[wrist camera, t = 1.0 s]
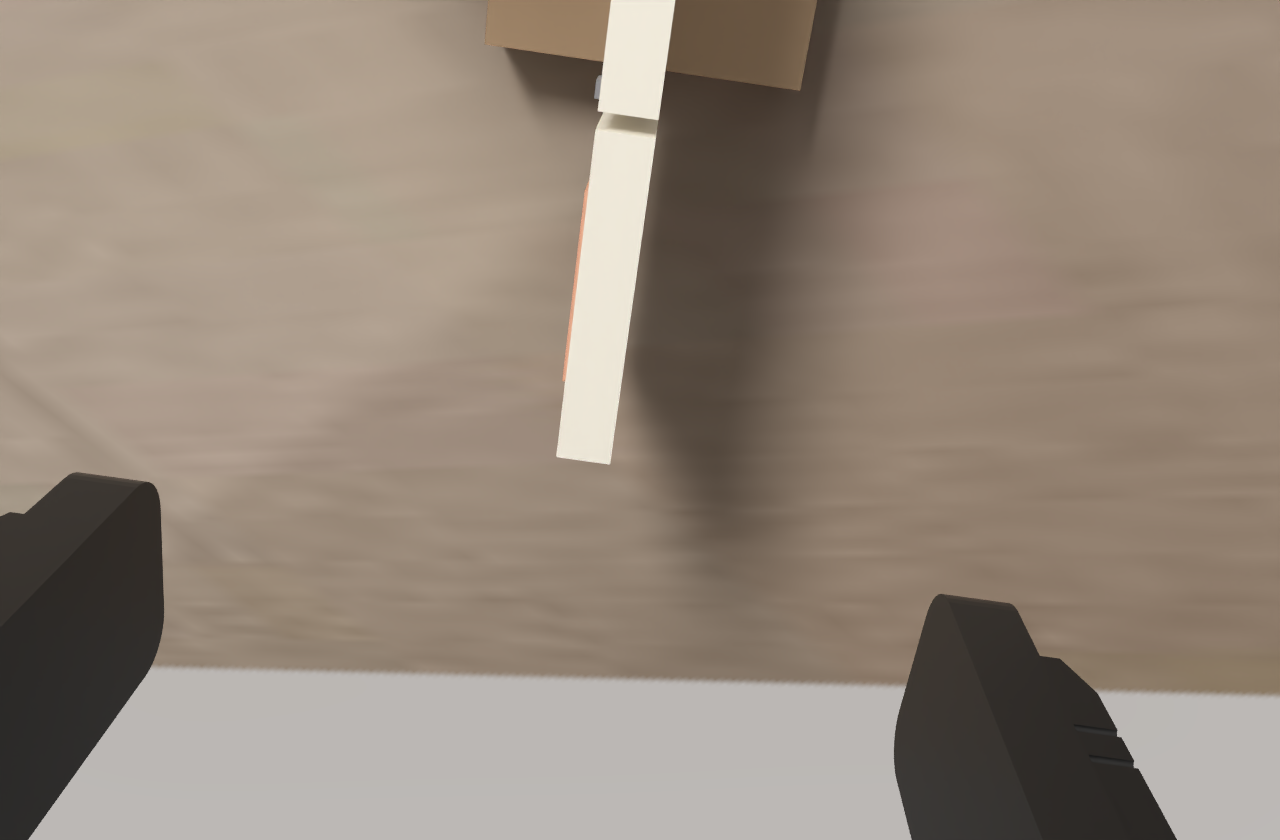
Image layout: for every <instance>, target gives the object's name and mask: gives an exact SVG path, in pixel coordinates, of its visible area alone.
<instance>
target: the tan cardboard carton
mask: <svg viewBox="0 0 1280 840" xmlns="http://www.w3.org/2000/svg"><path fill="white" fill-rule="evenodd" d="M816 4H817V0H488V8H487V21H486V33H485V44H486V45H493V46H500V47H506V48H513V49H520V50H527V51H533V52H540V53H547V54H554V55H561V56H567V57H574V58H581V59H588V60H594V61H601V62H604V63H603V69H602V76H598V78H597V79H596V86H595V95H594V99H599V105H598V111H599V112H606V113H613V114H620V115H627V116H633V117H640V118H647V119H654V120H659V113H660V105H661V98H662V91H663V84H664V77H665V71H669V72H676V73H683V74H689V75H696V76H703V77H710V78H716V79H723V80H730V81H737V82H744V83H750V84H757V85H764V86H771V87H777V88H784V89H791V90H798V91H800V89H801V84H802V78H803V73H804V68H805V62H806V57H807V52H808V46H809V41H810V36H811V30H812V25H813V20H814V15H815V9H816Z"/></svg>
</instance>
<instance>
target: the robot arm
mask: <svg viewBox="0 0 1280 840" xmlns="http://www.w3.org/2000/svg"><path fill="white" fill-rule="evenodd" d="M163 621H164V595H163V566H162V536H161V508H160V499H159V495H158V492H157V489H156V488H155V486H154V485H153V484H152V483H149V482H144V481H137V480H130V479H122V478H115V477H108V476H101V475H94V474H86V473H79V472H76V473H72V474H70V475H68V476H67V477H66V478H64V479H63V480H62V481H61V482H60V483H59V484H58V485H56V486H55V487H54V488H53V489H52V490H51V491H50V492H49V493H47V494H46V495H45V496H44V497H43V498H42V499H41V500H40V501H38V502H37V503H36V504H35V505H34V506H33V507H32V508H31V509H29V510H28V511H27V512H26V513H25V514H20V513H12V512H10V513H7V514H5V515H3V516H0V840H28V839H29V837H30V836H31V835H32V833H33V832H34V830H35V829H36V828H37V826H38V825H39V823H40V822H41V820H42V819H43V818H44V816H45V815H46V814H47V812H48V811H49V810H50V808H51V807H52V805H53V804H54V803H55V801H56V800H57V798H58V797H59V796H60V794H61V793H62V791H63V790H64V789H65V787H66V786H67V785H68V783H69V782H70V780H71V779H72V778H73V776H74V775H75V773H76V772H77V770H78V769H79V768H80V766H81V765H82V763H83V762H84V761H85V759H86V758H87V757H88V755H89V754H90V752H91V751H92V749H93V748H94V747H95V746H96V744H97V742H98V741H99V740H100V739H101V737H102V736H103V734H104V733H105V731H106V730H107V729H108V727H109V726H110V725H111V723H112V722H113V720H114V719H115V718H116V716H117V715H118V713H119V712H120V710H121V709H122V708H123V706H124V705H125V704H126V702H127V701H128V700H129V698H130V697H131V695H132V694H133V693H134V691H135V690H136V688H137V687H138V685H139V684H140V683H141V681H142V680H143V679H144V677H145V676H146V674H147V673H148V671H149V669H150V667H151V665H152V663H153V661H154V658H155V656H156V653H157V650H158V647H159V643H160V639H161V635H162V629H163ZM1133 763H1134V760H1133V758H1132V756H1131V754H1130V752H1129V751H1128V749H1127V747H1126V745H1125V743H1124V741H1123V740H1122V738H1121V737H1117V728H1116V727H1115V725H1114V723H1113V721H1112V719H1111V717H1110V716H1109V714H1108V712H1107V710H1106V708H1105V707H1104V705H1103V703H1102V701H1101V699H1100V697H1099V695H1098V694H1097V692H1095V691H1094V690H1093V689H1092V688H1091V687H1090V686H1089V685H1088V684H1087V683H1086V682H1085V681H1084V680H1082V679H1081V678H1080V677H1079V676H1078V675H1077V674H1076V673H1075V672H1074V671H1073V670H1072V669H1071V668H1069V667H1068V666H1067V665H1066V664H1065V663H1064V662H1063V661H1062V660H1061V659H1058V658H1051V657H1043V656H1039V653H1038V651H1037V649H1036V647H1035V645H1034V643H1033V641H1032V639H1031V637H1030V635H1029V633H1028V631H1027V629H1026V627H1025V625H1024V623H1023V621H1022V619H1021V617H1020V615H1019V613H1018V611H1017V609H1016V608H1015V607H1014V606H1013V605H1012V604H1010V603H1003V602H996V601H989V600H981V599H974V598H967V597H960V596H952V595H945V594H939V595H937V596H936V597H935V598H934V599H933V601H932V603H931V605H930V607H929V610H928V613H927V616H926V619H925V623H924V626H923V630H922V633H921V637H920V640H919V644H918V647H917V651H916V654H915V658H914V661H913V665H912V668H911V672H910V675H909V679H908V682H907V686H906V689H905V693H904V697H903V700H902V703H901V707H900V710H899V715H898V719H897V724H896V731H895V741H894V765H895V774H896V779H897V783H898V787H899V791H900V795H901V798H902V803H903V807H904V811H905V815H906V818H907V823H908V826H909V830H910V834H911V838H912V840H1177V839H1176V837H1175V835H1174V834H1173V832H1172V830H1171V828H1170V826H1169V824H1168V823H1167V821H1166V819H1165V817H1164V815H1163V813H1162V811H1161V809H1160V808H1159V806H1158V804H1157V802H1156V800H1155V798H1154V797H1153V795H1152V793H1151V791H1150V789H1149V787H1148V786H1147V784H1146V782H1145V780H1144V778H1143V776H1142V774H1141V773H1140V771H1139V769H1136V768H1134V766H1133Z"/></svg>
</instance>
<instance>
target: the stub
mask: <svg viewBox="0 0 1280 840" xmlns="http://www.w3.org/2000/svg"><path fill="white" fill-rule="evenodd" d="M660 106H661V105H660ZM657 127H658V120H654V119H647V118H640V117H633V116H627V115H620V114H613V113H606V112H603V114H602V116H601V119H600V121H599V123H598V125H597V128H596V130H595V138H594V146H593V155H592V163H591V171H590V179H589V181H588V184H587V187H586V189H585V194H584V202H583V211H582V219H581V228H580V236H579V244H578V253H577V261H576V270H575V278H574V287H573V295H572V304H571V312H570V320H569V329H568V337H567V346H566V354H565V363H564V371H563V380H562V381H565V389H564V397H563V406H562V414H561V422H560V431H559V439H558V447H557V456H556V457H560V458H567V459H575V460H582V461H589V462H596V463H603V464H610V460H611V453H612V446H613V439H614V432H615V425H616V417H617V410H618V403H619V396H620V389H621V382H622V375H623V368H624V361H625V354H626V347H627V340H628V332H629V325H630V318H631V311H632V304H633V297H634V290H635V283H636V276H637V269H638V262H639V254H640V247H641V240H642V233H643V226H644V219H645V212H646V205H647V198H648V191H649V184H650V176H651V169H652V162H653V155H654V148H655V141H656V134H657Z"/></svg>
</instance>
